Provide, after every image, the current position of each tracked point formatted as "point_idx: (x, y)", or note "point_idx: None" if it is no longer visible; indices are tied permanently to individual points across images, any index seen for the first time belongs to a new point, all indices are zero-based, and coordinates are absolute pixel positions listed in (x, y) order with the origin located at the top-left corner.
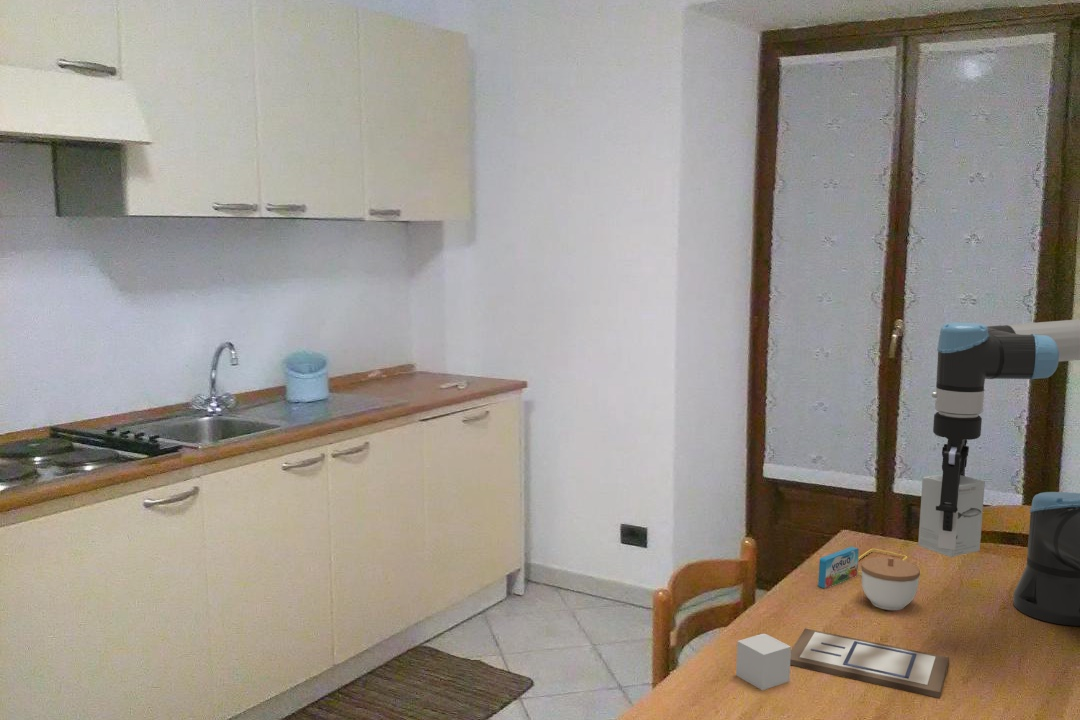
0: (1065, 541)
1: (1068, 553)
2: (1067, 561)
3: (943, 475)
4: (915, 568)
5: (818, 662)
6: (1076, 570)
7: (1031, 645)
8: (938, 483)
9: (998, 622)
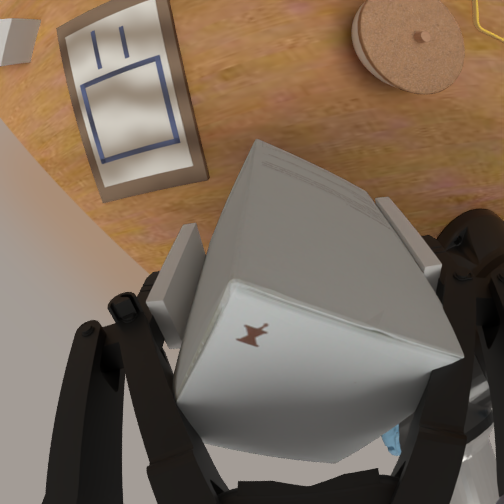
0: None
1: None
2: None
3: (53, 446)
4: (432, 85)
5: (69, 59)
6: None
7: None
8: (184, 368)
9: (406, 202)
